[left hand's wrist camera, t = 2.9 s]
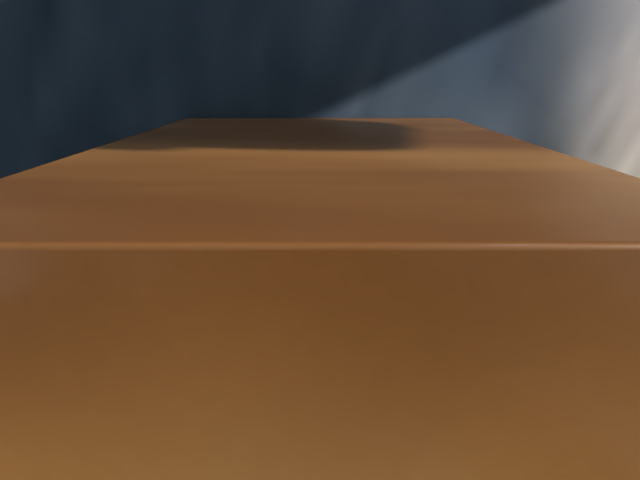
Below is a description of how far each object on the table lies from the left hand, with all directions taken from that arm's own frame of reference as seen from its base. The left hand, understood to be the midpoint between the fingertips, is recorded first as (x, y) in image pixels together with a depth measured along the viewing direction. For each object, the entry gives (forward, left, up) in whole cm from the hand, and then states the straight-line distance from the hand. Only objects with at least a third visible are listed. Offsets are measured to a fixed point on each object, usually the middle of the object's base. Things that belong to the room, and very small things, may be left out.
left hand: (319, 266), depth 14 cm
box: (+7, +2, -2) cm, 8 cm away
